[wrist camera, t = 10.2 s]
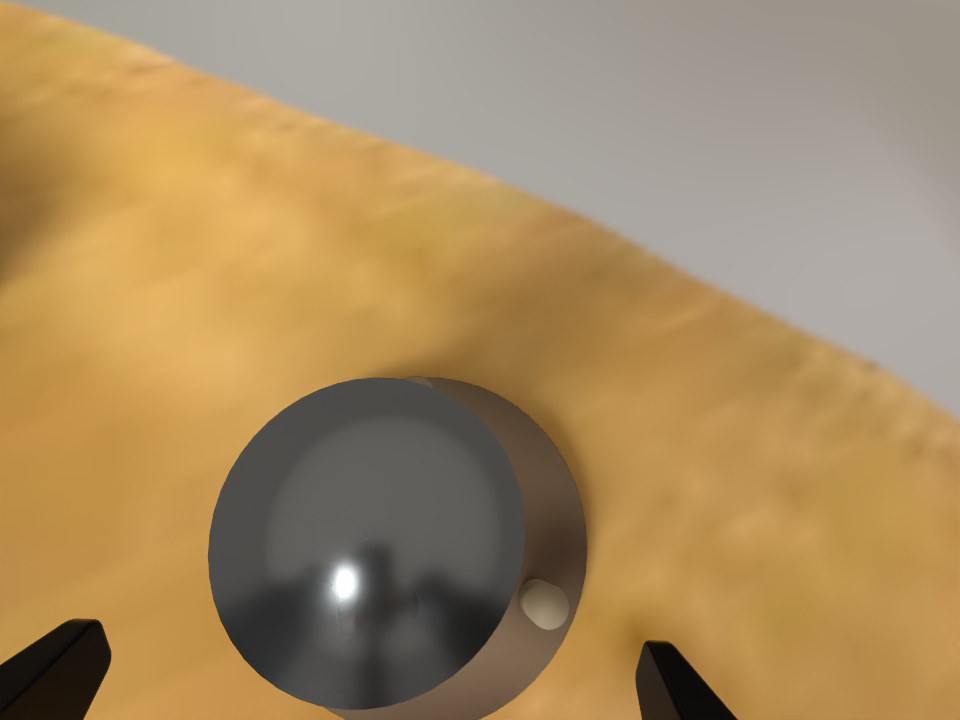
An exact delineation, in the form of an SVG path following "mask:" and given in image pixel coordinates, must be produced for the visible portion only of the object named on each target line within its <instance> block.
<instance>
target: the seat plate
mask: <svg viewBox="0 0 960 720" xmlns="http://www.w3.org/2000/svg"><path fill="white" fill-rule="evenodd" d="M400 380H406V381H412V382H415V383H419V384H422V385H426V386H429V387H431V388H433V389H436V390H438V391H440V392H443V393H445V394H447V395H448V396H450V397H452V398H453V399H455V400H457V401H458V402H460V403H462V404H463V405H464V406H465V407H467V408H468V409H469V410H470V411H472V412H473V413H474V414H475V415H476V416H477V417H478V418H479V419H480V420H481V421H482V422H483V423H484V424H485V425H486V426H487V427H488V428H489V429H490V431H491V432H492V433H493V435H494V436H495V437H496V439H497V440H498V441H499V443H500V444H501V446H502V448H503V450H504V451H505V453H506V455H507V457H508V458H509V460H510V463H511V465H512V468H513V470H514V473H515V475H516V477H517V481H518V485H519V488H520V492H521V496H522V502H523V509H524V516H525V545H524V554H523V562H522V566H521V570H520V575H519V579H518V583H517V586H516V588H515V591H514V594H513V596H512V599H511V602H510V604H509V606H508V608H507V610H506V612H505V614H504V616H503V618H502V620H501V622H500V624H499V625H498V627H497V628H496V630H495V631H494V633H493V634H492V635H491V637H490V638H489V640H488V641H487V643H486V644H485V645H484V646H483V647H482V648H481V650H480V651H479V652H478V653H477V654H476V655H475V656H474V657H473V659H472V660H471V661H470V662H469V663H467V664H466V665H465V666H464V667H463V668H462V669H460V670H459V671H458V672H457V673H456V674H455V675H453V676H452V677H451V678H449V679H448V680H446V681H445V682H443V683H442V684H440V685H438V686H437V687H435V688H434V689H432V690H430V691H428V692H426V693H424V694H422V695H419V696H417V697H415V698H413V699H411V700H408V701H404V702H401V703H398V704H394V705H391V706H387V707H381V708H374V709H367V710H341V709H335V708H329V707H324V708H326V709H327V710H329V711H330V712H332V713H334V714H336V715H338V716H340V717H342V718H344V719H346V720H479V719H481V718H483V717H485V716H487V715H489V714H492V713H494V712H495V711H497V710H498V709H500V708H501V707H503V706H504V705H506V704H507V703H509V702H510V701H512V700H513V699H515V698H516V697H517V696H518V695H519V694H520V693H521V692H522V691H524V690H525V689H526V688H527V687H528V686H529V685H530V684H531V683H532V682H533V681H534V680H535V679H536V678H537V677H538V676H539V674H540V673H541V672H542V671H543V670H544V668H545V667H546V666H547V665H548V664H549V663H550V661H551V660H552V658H553V656H554V655H555V653H556V652H557V650H558V649H559V647H560V645H561V644H562V642H563V641H564V638H565V636H566V634H567V632H568V630H569V628H570V626H571V624H572V621H573V619H574V616H575V613H576V610H577V607H578V604H579V601H580V598H581V594H582V588H583V583H584V578H585V573H586V558H587V539H586V525H585V519H584V514H583V508H582V504H581V500H580V497H579V494H578V491H577V487H576V484H575V482H574V479H573V477H572V475H571V473H570V471H569V468H568V466H567V464H566V462H565V461H564V459H563V457H562V456H561V454H560V452H559V451H558V449H557V447H556V446H555V445H554V443H553V442H552V441H551V440H550V438H549V437H548V436H547V434H546V433H545V432H544V431H543V430H542V429H541V428H540V427H539V426H538V425H537V424H536V423H535V422H534V421H533V420H532V419H531V418H530V417H529V416H528V415H527V414H526V413H524V412H523V411H522V410H520V409H519V408H518V407H516V406H515V405H514V404H512V403H511V402H509V401H507V400H506V399H504V398H502V397H500V396H499V395H497V394H495V393H493V392H490V391H488V390H486V389H483V388H481V387H479V386H475V385H472V384H468V383H465V382H461V381H457V380H450V379H444V378H425V377H420V376H413V377H410V378H408V379H400Z"/></svg>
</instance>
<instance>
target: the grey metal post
mask: <svg viewBox="0 0 960 720" xmlns="http://www.w3.org/2000/svg"><path fill="white" fill-rule="evenodd" d="M524 545H525V516H524V509H523V502H522V496H521V492H520V488H519V485H518V481H517V477H516V475H515V473H514V470H513V468H512V465H511V463H510V460H509V458H508V457H507V455H506V453H505V451H504V450H503V448H502V446H501V444H500V443H499V441H498V440H497V439H496V437H495V436H494V435H493V433H492V432H491V431H490V429H489V428H488V427H487V426H486V425H485V424H484V423H483V422H482V421H481V420H480V419H479V418H478V417H477V416H476V415H475V414H474V413H473V412H472V411H470V410H469V409H468V408H467V407H465V406H464V405H463V404H462V403H460V402H458V401H457V400H455V399H453V398H452V397H450V396H448V395H447V394H445V393H443V392H440V391H438V390H436V389H433V388H431V387H429V386H426V385H422V384H419V383H415V382H412V381H406V380H400V379H394V378H367V379H356V380H351V381H347V382H342V383H337V384H334V385H331V386H329V387H326V388H323V389H320V390H317V391H315V392H313V393H311V394H309V395H307V396H305V397H303V398H301V399H299V400H298V401H296V402H295V403H293V404H291V405H290V406H288V407H287V408H285V409H284V410H282V411H281V412H280V413H279V414H278V415H276V416H275V417H274V418H273V419H271V420H270V421H269V422H268V423H267V424H266V425H265V426H264V427H263V428H262V429H261V430H260V431H259V432H258V433H257V434H256V435H255V436H254V437H253V438H252V440H251V441H250V442H249V443H248V445H247V446H246V447H245V449H244V450H243V451H242V452H241V454H240V456H239V457H238V459H237V460H236V462H235V464H234V465H233V467H232V469H231V470H230V472H229V474H228V476H227V479H226V481H225V483H224V485H223V487H222V489H221V492H220V495H219V498H218V501H217V504H216V507H215V510H214V514H213V519H212V524H211V529H210V536H209V550H208V562H209V578H210V584H211V589H212V594H213V599H214V602H215V605H216V608H217V611H218V614H219V617H220V620H221V622H222V624H223V626H224V628H225V630H226V632H227V634H228V636H229V638H230V640H231V641H232V643H233V644H234V646H235V647H236V648H237V650H238V651H239V653H240V654H241V655H242V657H243V658H244V659H245V660H246V661H247V662H248V664H249V665H250V666H251V667H252V668H253V669H254V670H255V671H256V672H257V673H258V674H259V675H260V676H262V677H263V678H264V679H266V680H267V681H269V682H270V683H271V684H273V685H274V686H275V687H277V688H278V689H280V690H282V691H284V692H286V693H288V694H290V695H291V696H293V697H295V698H297V699H300V700H303V701H306V702H309V703H312V704H315V705H318V706H323V707H329V708H335V709H341V710H367V709H374V708H381V707H387V706H391V705H394V704H398V703H401V702H404V701H408V700H411V699H413V698H415V697H417V696H419V695H422V694H424V693H426V692H428V691H430V690H432V689H434V688H435V687H437V686H438V685H440V684H442V683H443V682H445V681H446V680H448V679H449V678H451V677H452V676H453V675H455V674H456V673H457V672H458V671H459V670H460V669H462V668H463V667H464V666H465V665H466V664H467V663H469V662H470V661H471V660H472V659H473V657H474V656H475V655H476V654H477V653H478V652H479V651H480V650H481V648H482V647H483V646H484V645H485V644H486V643H487V641H488V640H489V638H490V637H491V635H492V634H493V633H494V631H495V630H496V628H497V627H498V625H499V624H500V622H501V620H502V618H503V616H504V614H505V612H506V610H507V608H508V606H509V604H510V602H511V599H512V596H513V594H514V591H515V588H516V586H517V583H518V579H519V575H520V570H521V566H522V562H523V554H524Z"/></svg>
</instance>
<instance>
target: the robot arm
mask: <svg viewBox="0 0 960 720" xmlns="http://www.w3.org/2000/svg"><path fill="white" fill-rule="evenodd" d="M110 662H111V649H110V646H109V644H108V641H107V638H106V635H105V632H104V629H103V626H102V624H101V622H100V621H98V620H96V619H72V620H69V621H67V622H65V623H63V624H61V625H60V626H58V627H57V628H55V629H54V630H52V631H51V632H49V633H48V634H46V635H45V636H43V637H42V638H40V639H39V640H37V641H36V642H34V643H33V644H31V645H30V646H28V647H27V648H25V649H24V650H22V651H21V652H19V653H18V654H16V655H15V656H13V657H12V658H10V659H9V660H7V661H6V662H4V663H2V664H1V665H0V720H83V719H84V717H85V715H86V713H87V711H88V709H89V707H90V705H91V703H92V701H93V699H94V697H95V695H96V693H97V691H98V689H99V687H100V685H101V683H102V681H103V679H104V677H105V675H106V673H107V671H108V668H109V665H110ZM636 689H637V694H638V700H639V705H640V711H641V716H642V720H738V719H737V718H736V717H735V716H734V715H733V714H732V712H731V711H730V710H729V709H728V708H727V707H726V705H725V704H724V703H723V702H722V701H721V700H720V698H719V697H718V696H717V695H716V694H715V693H714V691H713V690H712V689H711V688H710V687H709V686H708V684H707V683H706V682H705V681H704V680H703V679H702V677H701V676H700V675H699V674H698V673H697V672H696V671H695V669H694V668H693V667H692V666H691V665H690V664H689V662H688V661H687V660H686V659H685V658H684V657H683V655H682V654H681V653H680V652H679V651H678V650H677V648H676V647H675V646H674V645H673V644H671V643H670V642H668V641H656V640H648V641H646V642H645V643H644V645H643V648H642V652H641V655H640V659H639V663H638V666H637V670H636Z"/></svg>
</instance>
